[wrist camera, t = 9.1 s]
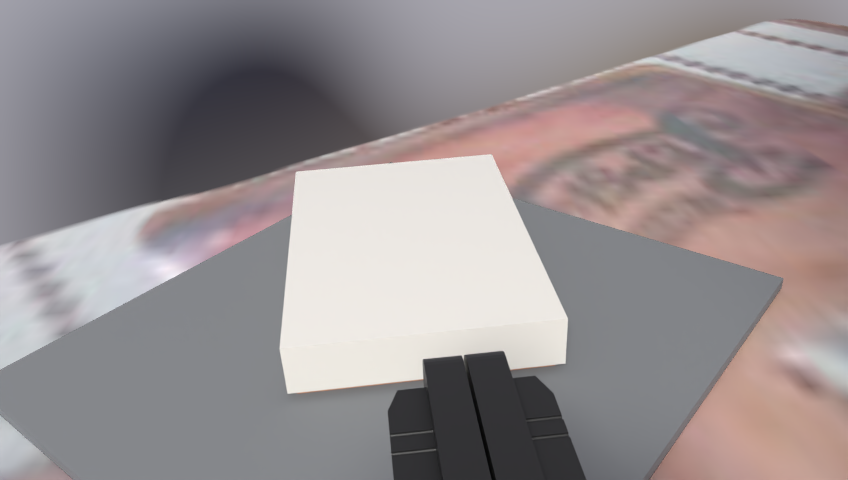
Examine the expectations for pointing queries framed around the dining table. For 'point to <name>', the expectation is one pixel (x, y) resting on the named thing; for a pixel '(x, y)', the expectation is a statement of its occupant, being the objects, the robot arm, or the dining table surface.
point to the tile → (411, 275)
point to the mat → (368, 406)
